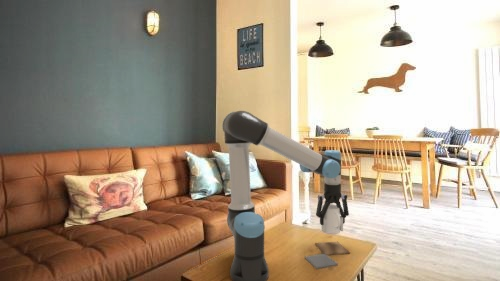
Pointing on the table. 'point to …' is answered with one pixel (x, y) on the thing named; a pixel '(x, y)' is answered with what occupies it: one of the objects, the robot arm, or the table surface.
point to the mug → (332, 220)
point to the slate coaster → (321, 261)
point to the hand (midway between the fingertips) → (332, 230)
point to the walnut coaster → (332, 248)
